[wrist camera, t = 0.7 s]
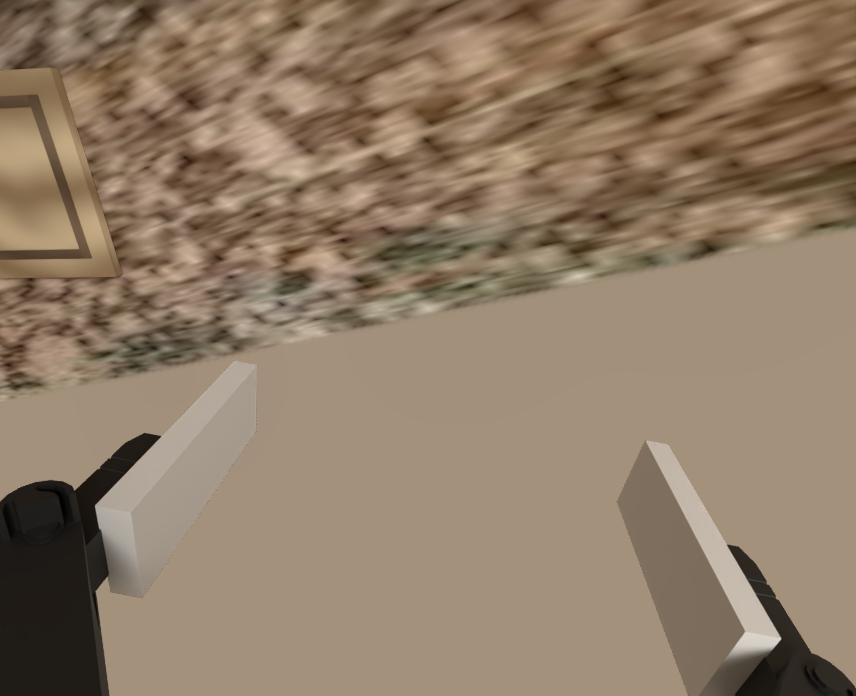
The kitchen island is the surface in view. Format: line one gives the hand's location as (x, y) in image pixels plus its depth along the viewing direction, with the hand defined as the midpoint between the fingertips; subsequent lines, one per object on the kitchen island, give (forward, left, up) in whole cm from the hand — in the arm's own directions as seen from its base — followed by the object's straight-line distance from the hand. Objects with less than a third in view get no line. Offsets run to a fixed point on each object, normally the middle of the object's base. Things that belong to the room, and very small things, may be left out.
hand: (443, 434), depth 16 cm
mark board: (-6, -38, -26) cm, 47 cm away
